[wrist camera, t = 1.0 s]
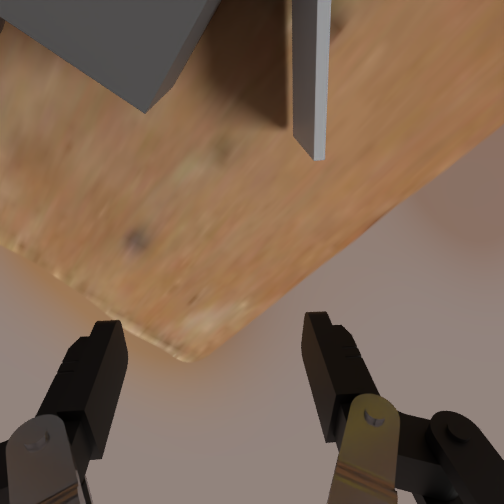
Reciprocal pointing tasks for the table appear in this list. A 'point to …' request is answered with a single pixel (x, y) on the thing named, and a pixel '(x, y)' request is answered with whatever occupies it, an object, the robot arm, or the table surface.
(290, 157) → the table surface
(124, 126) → the table surface
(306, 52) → the side door
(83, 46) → the block
